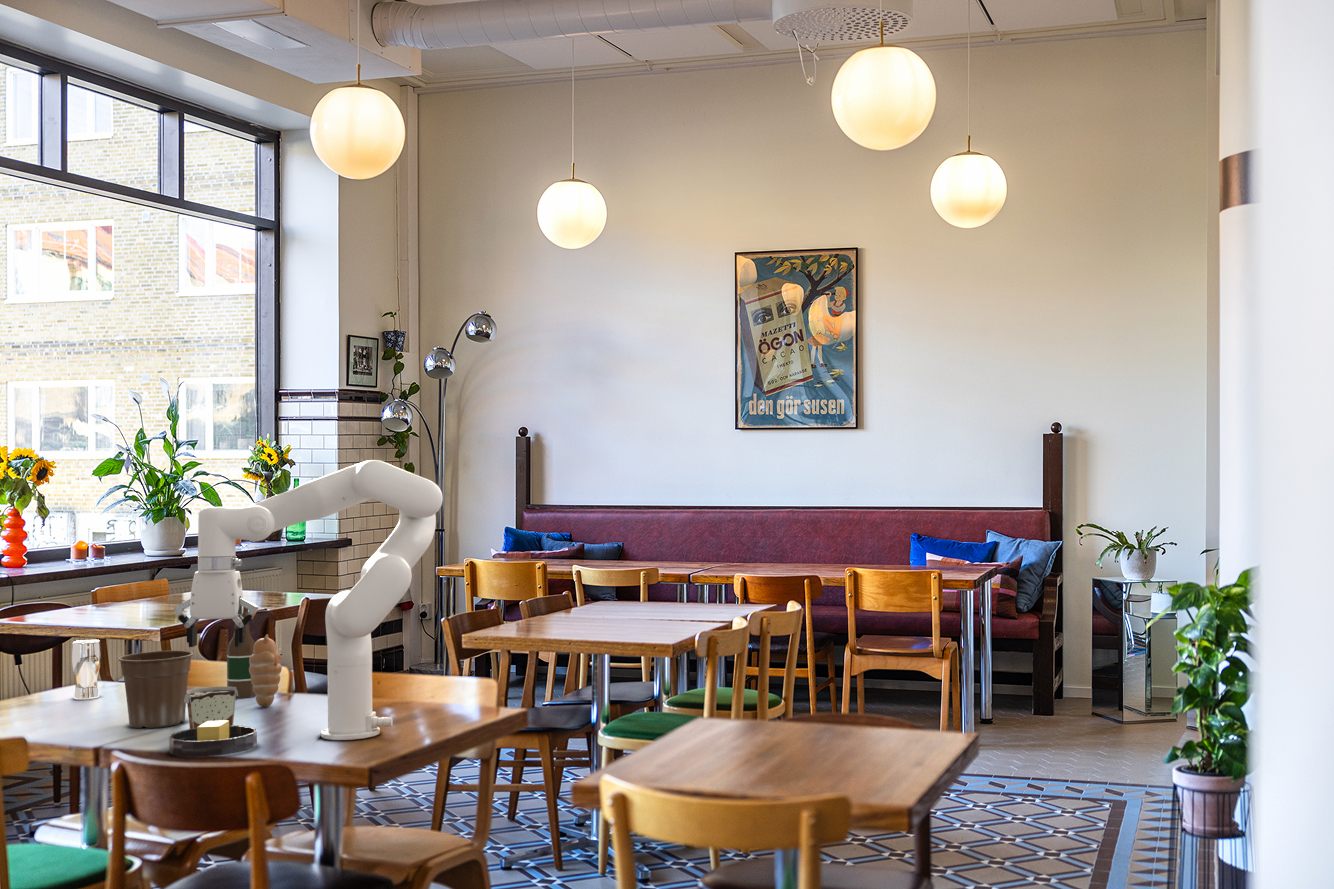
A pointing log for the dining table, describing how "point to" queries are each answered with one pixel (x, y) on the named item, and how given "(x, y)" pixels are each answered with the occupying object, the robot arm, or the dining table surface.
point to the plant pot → (156, 687)
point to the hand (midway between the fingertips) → (215, 646)
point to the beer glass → (86, 668)
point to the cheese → (213, 730)
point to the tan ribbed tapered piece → (265, 670)
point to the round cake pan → (212, 742)
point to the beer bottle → (240, 663)
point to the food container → (210, 705)
